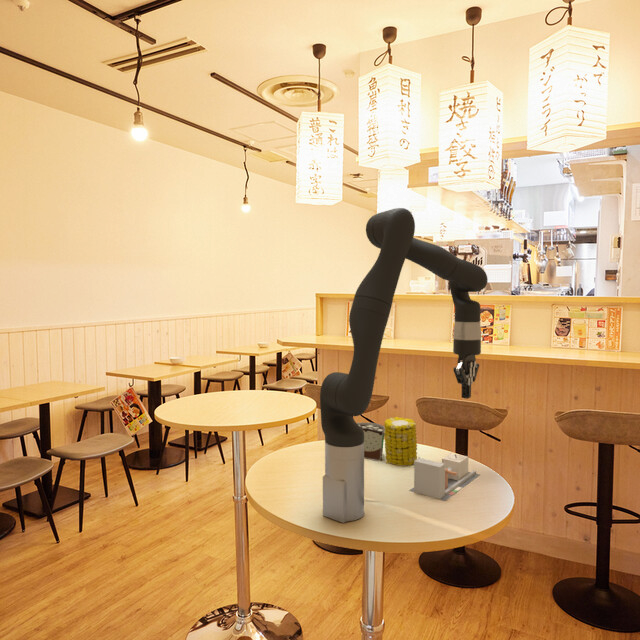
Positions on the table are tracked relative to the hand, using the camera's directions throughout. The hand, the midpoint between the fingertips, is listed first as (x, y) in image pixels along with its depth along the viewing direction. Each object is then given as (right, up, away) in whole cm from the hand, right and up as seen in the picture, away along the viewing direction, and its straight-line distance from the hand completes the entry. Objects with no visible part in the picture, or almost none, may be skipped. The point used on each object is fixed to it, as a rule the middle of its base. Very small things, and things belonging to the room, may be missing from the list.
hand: (466, 397), depth 140 cm
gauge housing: (-6, -21, -6) cm, 22 cm away
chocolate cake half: (-26, -21, +17) cm, 37 cm away
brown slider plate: (-10, -21, -14) cm, 27 cm away
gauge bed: (-8, -23, -9) cm, 26 cm away
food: (-18, -22, +7) cm, 29 cm away
